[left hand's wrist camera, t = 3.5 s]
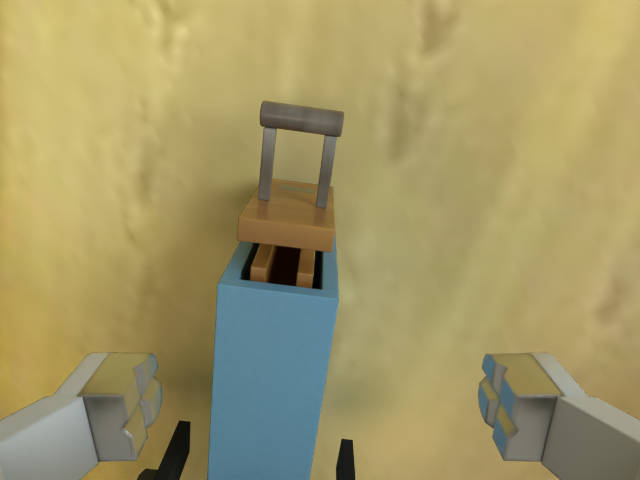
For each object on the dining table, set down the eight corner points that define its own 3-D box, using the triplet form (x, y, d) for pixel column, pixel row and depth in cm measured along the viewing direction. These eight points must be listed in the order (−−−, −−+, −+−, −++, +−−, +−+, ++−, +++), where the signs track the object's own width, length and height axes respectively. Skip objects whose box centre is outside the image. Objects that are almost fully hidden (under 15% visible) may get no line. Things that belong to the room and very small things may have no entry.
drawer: (270, 96, 26) (245, 103, 18) (344, 106, 26) (352, 118, 18) (244, 397, 34) (219, 495, 26) (301, 404, 34) (293, 503, 26)
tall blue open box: (252, 217, 30) (216, 284, 20) (335, 227, 30) (339, 299, 20) (235, 429, 36) (202, 556, 27) (303, 437, 36) (295, 566, 27)
